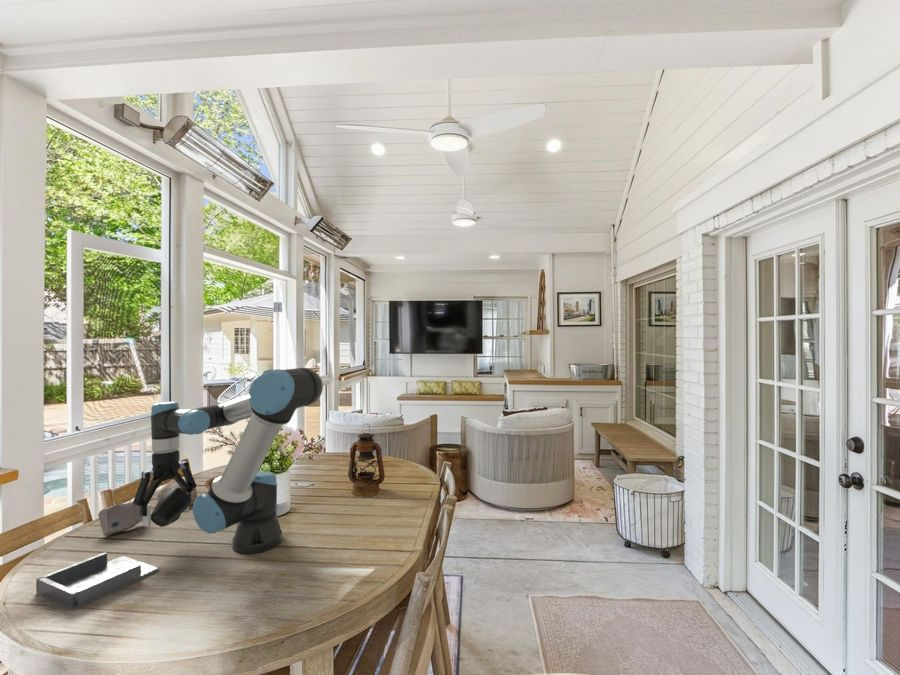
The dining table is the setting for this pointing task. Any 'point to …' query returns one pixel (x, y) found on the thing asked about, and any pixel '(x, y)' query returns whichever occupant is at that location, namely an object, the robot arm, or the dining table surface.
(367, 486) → the lantern
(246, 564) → the dining table surface
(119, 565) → the grey rectangular tray
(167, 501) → the black rounded cylinder
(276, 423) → the robot arm
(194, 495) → the rock
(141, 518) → the mauve grey rounded block
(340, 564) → the dining table surface
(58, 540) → the dining table surface
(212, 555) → the dining table surface
